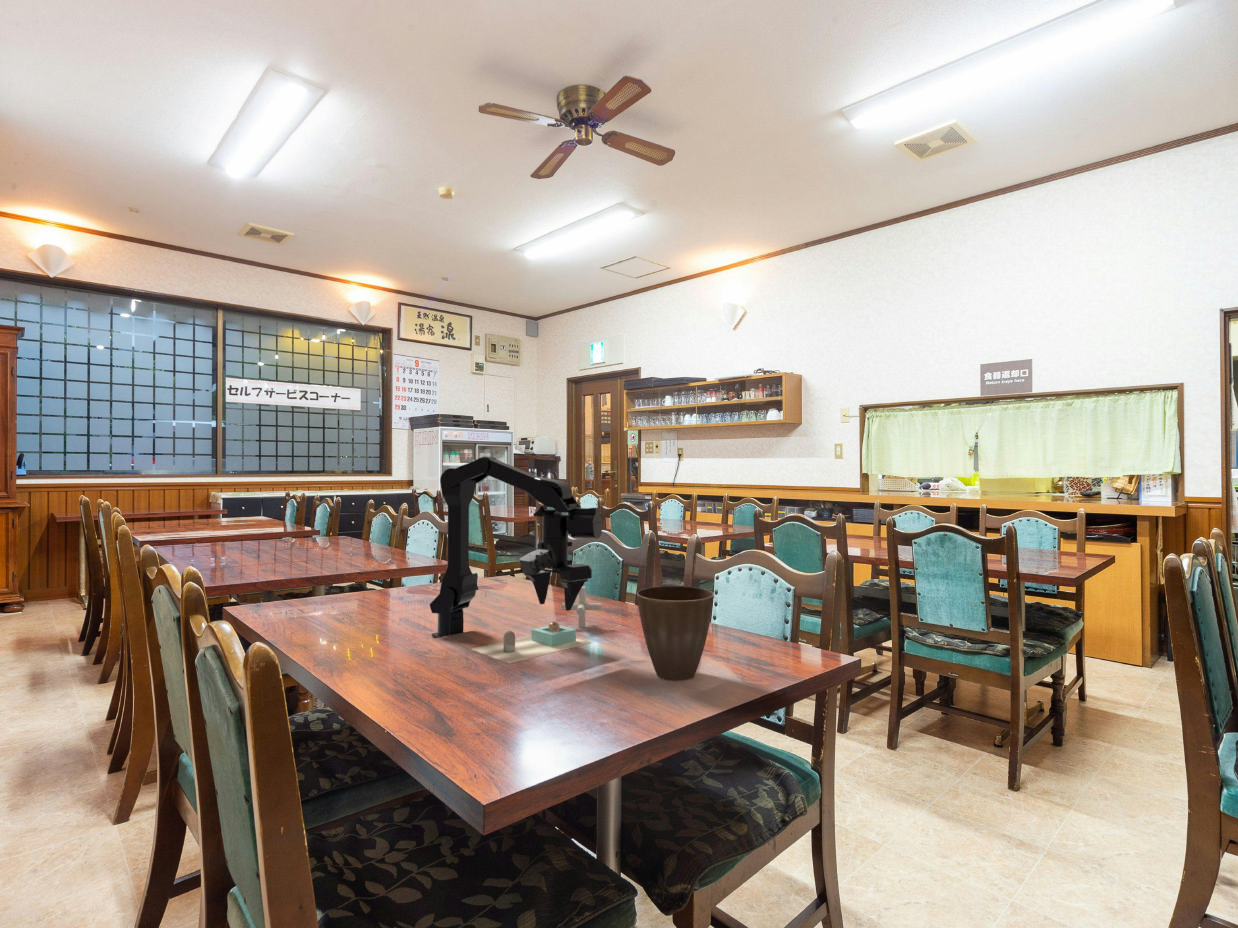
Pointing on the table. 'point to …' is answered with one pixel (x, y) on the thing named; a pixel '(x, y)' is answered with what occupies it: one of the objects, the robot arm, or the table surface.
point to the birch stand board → (522, 648)
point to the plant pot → (675, 628)
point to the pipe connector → (583, 607)
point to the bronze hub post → (554, 627)
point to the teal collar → (553, 636)
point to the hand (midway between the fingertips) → (554, 607)
